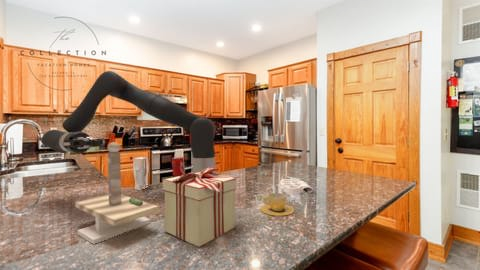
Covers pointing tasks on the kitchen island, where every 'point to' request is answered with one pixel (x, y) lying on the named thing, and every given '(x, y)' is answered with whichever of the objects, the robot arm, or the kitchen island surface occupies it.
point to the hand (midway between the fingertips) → (97, 143)
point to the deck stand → (109, 229)
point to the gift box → (199, 206)
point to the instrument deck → (116, 210)
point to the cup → (276, 204)
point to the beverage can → (178, 166)
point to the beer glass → (140, 172)
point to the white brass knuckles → (294, 186)
